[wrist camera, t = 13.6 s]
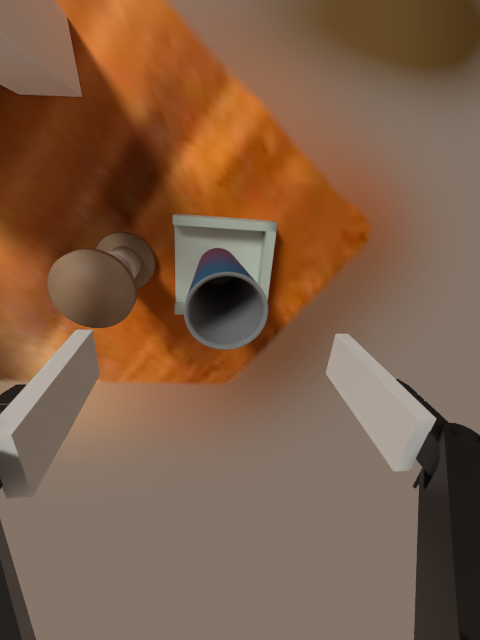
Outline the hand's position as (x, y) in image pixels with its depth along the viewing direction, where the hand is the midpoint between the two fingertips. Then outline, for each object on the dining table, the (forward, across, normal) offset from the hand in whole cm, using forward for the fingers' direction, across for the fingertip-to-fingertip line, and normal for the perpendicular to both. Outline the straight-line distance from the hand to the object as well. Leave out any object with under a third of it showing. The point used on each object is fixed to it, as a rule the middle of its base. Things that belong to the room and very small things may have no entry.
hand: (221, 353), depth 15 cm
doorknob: (+23, -10, -1) cm, 25 cm away
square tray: (+23, +2, -1) cm, 23 cm away
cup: (+22, +1, -1) cm, 22 cm away
